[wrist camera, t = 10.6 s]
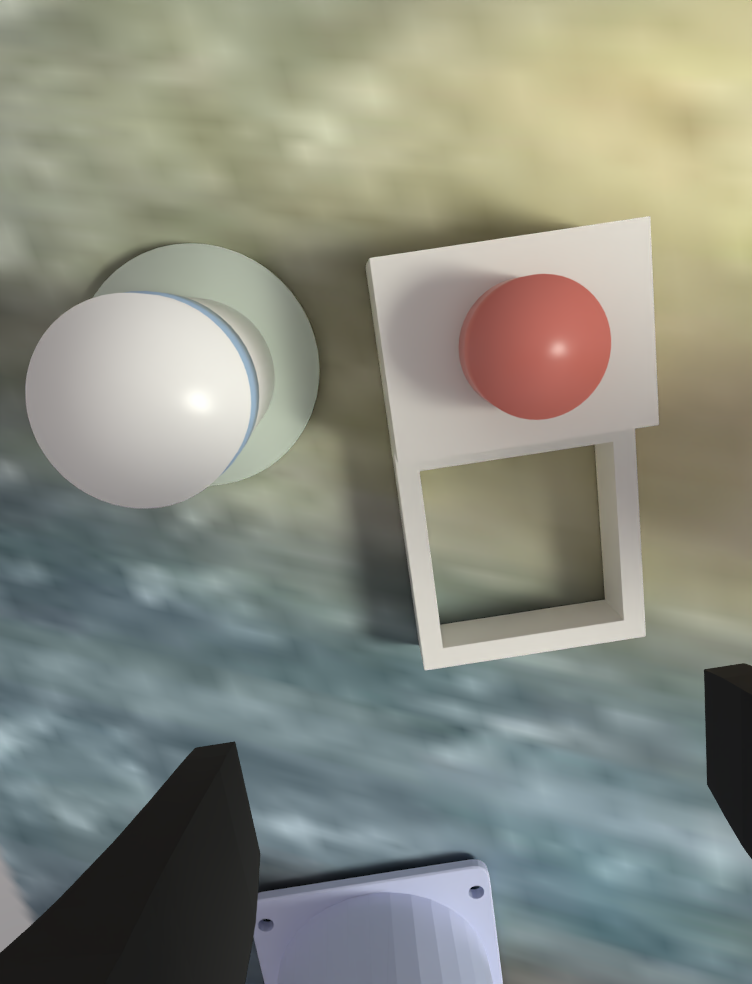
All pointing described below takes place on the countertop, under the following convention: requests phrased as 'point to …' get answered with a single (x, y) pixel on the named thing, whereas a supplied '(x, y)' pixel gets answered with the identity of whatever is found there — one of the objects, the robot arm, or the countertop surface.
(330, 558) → the countertop surface
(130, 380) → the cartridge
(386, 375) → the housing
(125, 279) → the pale green dome
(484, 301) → the plunger
